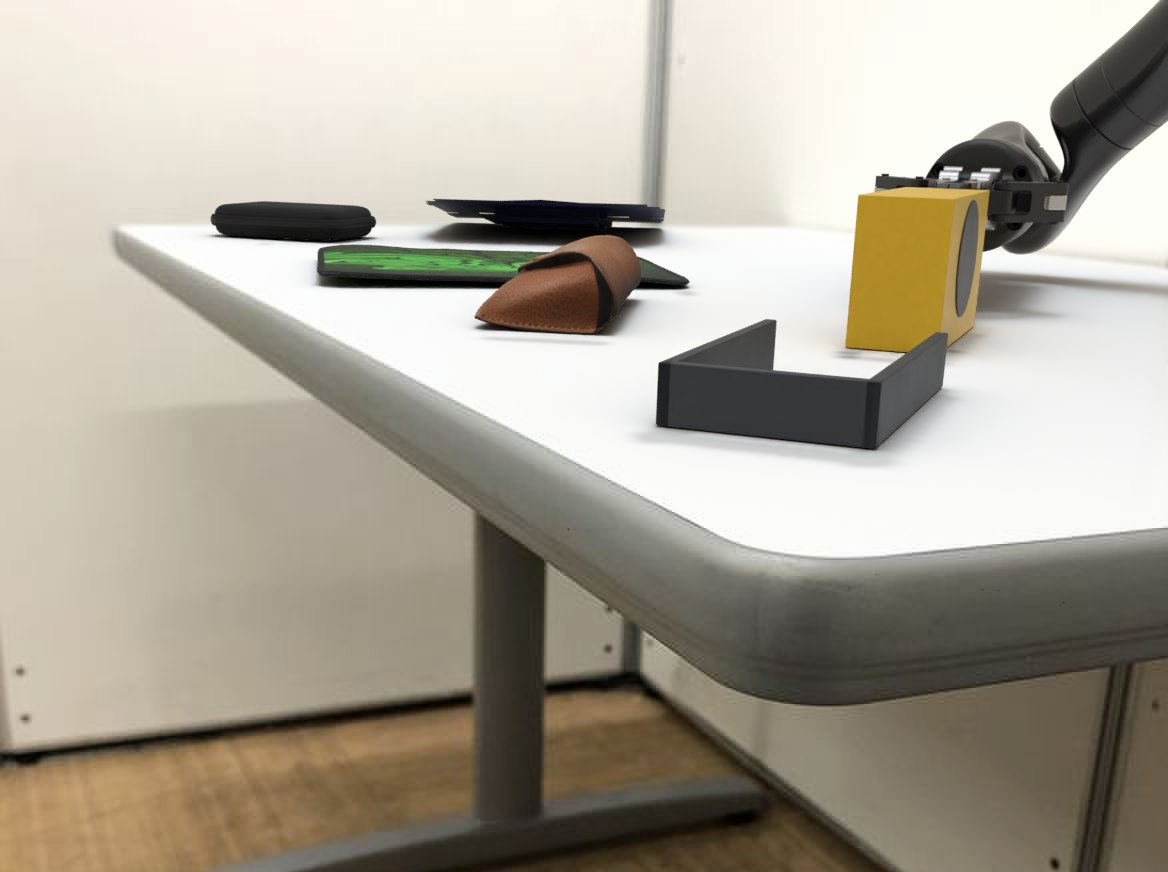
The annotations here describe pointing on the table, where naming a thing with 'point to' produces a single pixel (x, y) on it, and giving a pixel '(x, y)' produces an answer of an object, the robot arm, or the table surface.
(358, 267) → the mouse mat
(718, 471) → the table surface
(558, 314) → the sunglasses case
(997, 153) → the robot arm
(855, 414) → the u-shaped bracket
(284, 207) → the carrying case
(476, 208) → the black angular plate
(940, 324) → the tape measure
